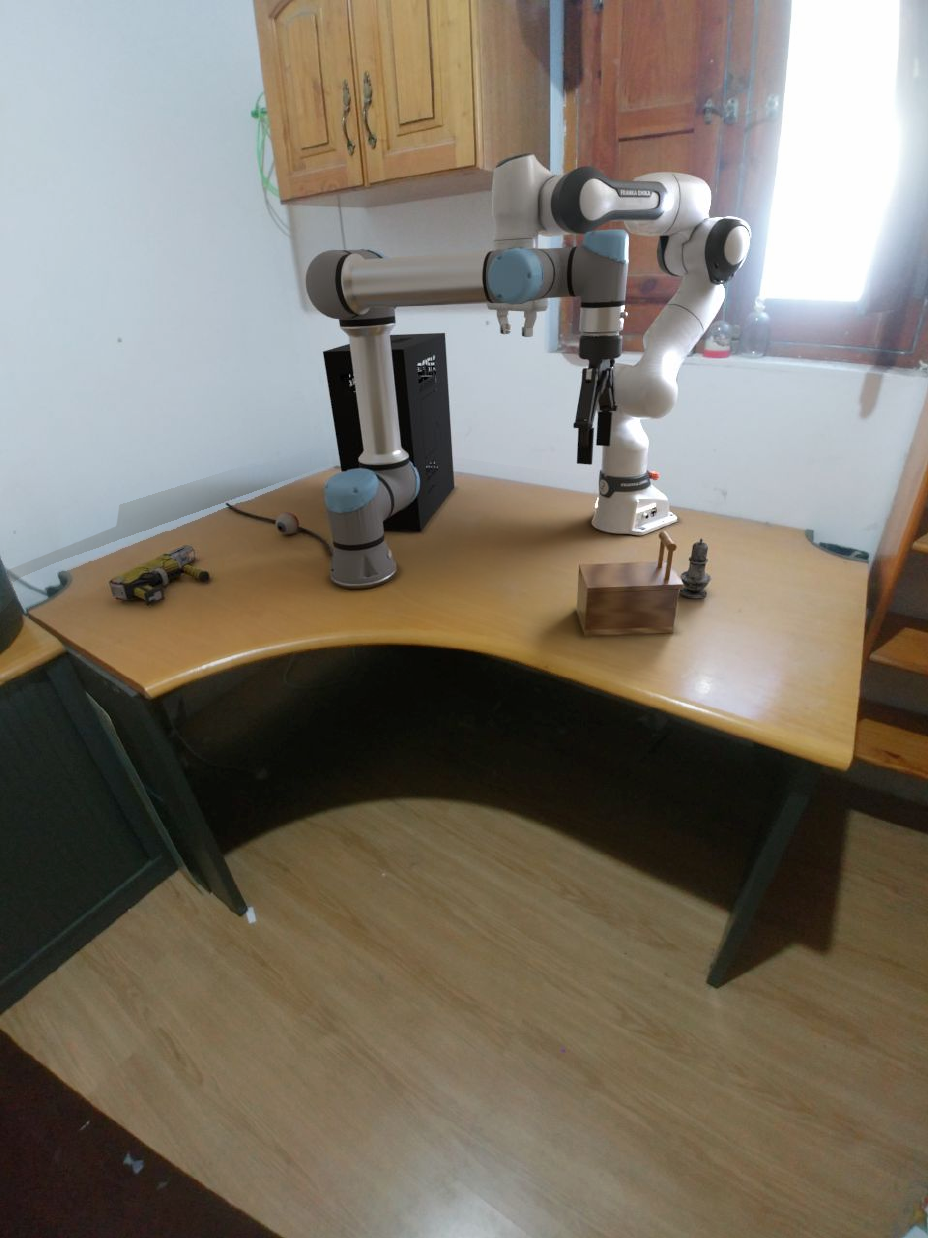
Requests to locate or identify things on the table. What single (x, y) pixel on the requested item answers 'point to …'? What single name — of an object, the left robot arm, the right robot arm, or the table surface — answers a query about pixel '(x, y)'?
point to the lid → (633, 573)
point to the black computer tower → (403, 419)
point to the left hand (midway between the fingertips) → (594, 454)
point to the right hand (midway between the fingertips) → (516, 335)
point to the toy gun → (155, 576)
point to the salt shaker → (696, 572)
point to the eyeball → (287, 523)
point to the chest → (626, 611)
